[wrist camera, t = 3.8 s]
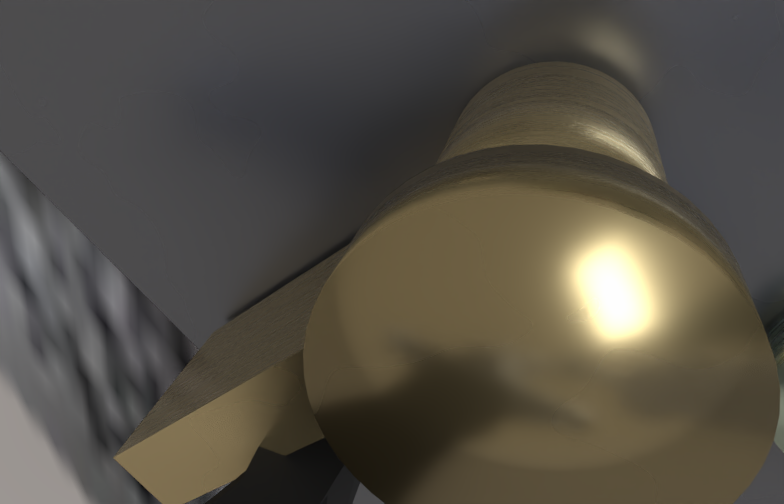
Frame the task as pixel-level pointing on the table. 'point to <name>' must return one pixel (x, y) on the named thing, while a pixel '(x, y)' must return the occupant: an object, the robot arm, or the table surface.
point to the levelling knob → (499, 330)
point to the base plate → (361, 128)
